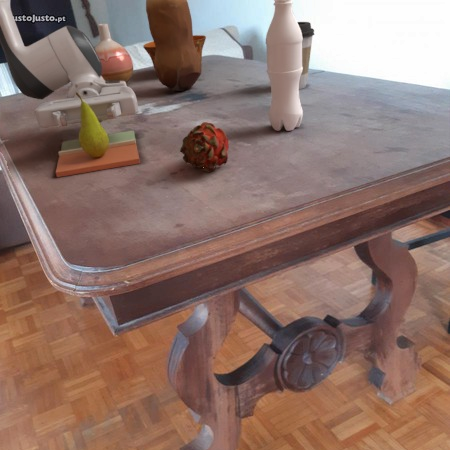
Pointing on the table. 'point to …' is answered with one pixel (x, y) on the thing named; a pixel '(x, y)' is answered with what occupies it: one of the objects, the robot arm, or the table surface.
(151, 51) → the bowl
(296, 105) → the water bottle
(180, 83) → the butternut squash
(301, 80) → the coffee cup
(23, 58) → the robot arm
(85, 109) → the fruit
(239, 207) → the table surface
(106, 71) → the vase
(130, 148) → the sorting board
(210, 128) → the dragon fruit
